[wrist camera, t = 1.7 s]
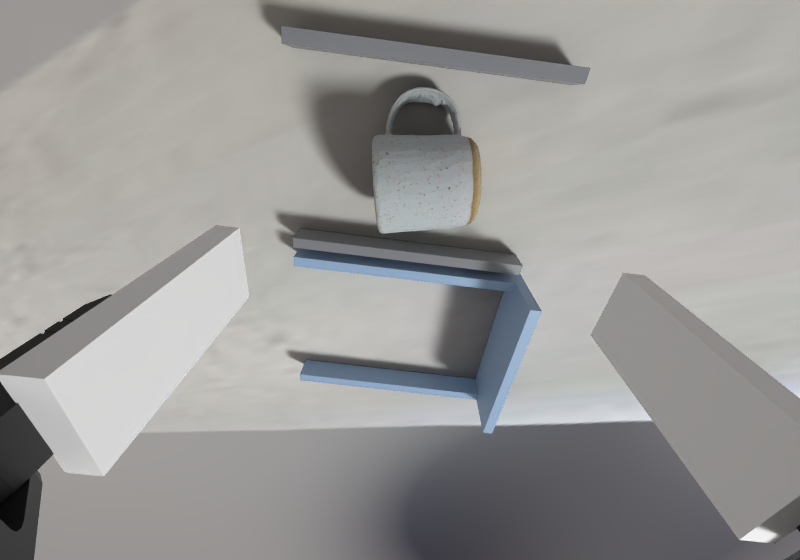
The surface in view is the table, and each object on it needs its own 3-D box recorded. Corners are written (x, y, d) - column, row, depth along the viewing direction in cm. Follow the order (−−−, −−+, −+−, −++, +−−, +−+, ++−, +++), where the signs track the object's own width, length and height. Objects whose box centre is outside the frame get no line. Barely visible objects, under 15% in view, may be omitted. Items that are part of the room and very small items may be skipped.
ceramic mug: (467, 212, 31) (481, 242, 25) (383, 216, 32) (374, 247, 25) (471, 83, 26) (491, 78, 20) (371, 92, 27) (356, 89, 20)
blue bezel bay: (519, 272, 34) (541, 311, 28) (481, 385, 43) (491, 433, 37) (301, 246, 34) (276, 280, 28) (306, 365, 42) (288, 411, 36)
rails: (575, 69, 25) (590, 67, 23) (512, 263, 34) (519, 274, 32) (292, 31, 25) (280, 25, 23) (301, 237, 33) (293, 247, 31)
